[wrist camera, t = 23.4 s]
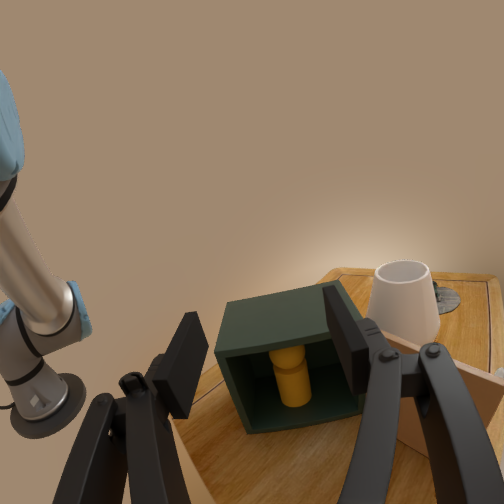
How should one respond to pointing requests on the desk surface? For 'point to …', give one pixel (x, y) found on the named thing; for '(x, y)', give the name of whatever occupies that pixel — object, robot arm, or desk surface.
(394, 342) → the cabinet door
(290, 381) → the toy
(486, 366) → the desk surface
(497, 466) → the robot arm
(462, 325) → the desk surface
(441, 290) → the sculpture
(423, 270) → the white tapered cylinder
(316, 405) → the cabinet
